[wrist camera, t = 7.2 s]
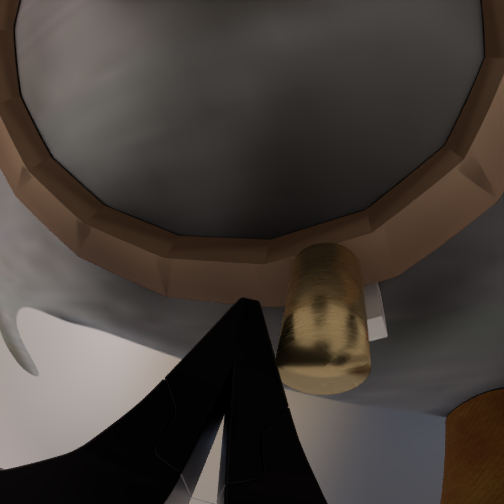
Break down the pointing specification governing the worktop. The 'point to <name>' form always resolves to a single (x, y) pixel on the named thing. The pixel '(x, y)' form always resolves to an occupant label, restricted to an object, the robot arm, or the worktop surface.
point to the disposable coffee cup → (475, 452)
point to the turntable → (285, 247)
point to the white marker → (375, 312)
